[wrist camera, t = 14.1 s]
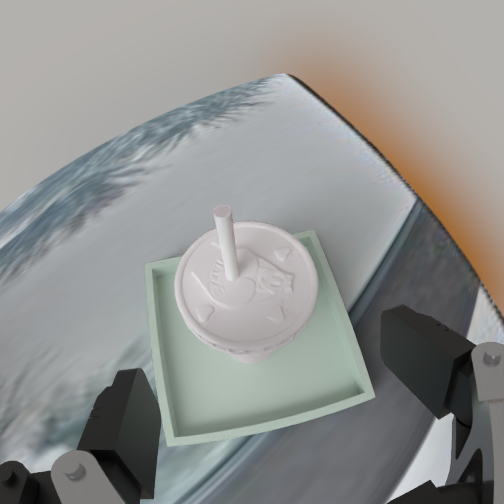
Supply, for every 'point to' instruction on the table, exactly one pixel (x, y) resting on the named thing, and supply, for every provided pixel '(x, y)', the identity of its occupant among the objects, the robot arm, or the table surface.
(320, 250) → the tray
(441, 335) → the robot arm
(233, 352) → the smoothie
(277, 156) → the table surface
